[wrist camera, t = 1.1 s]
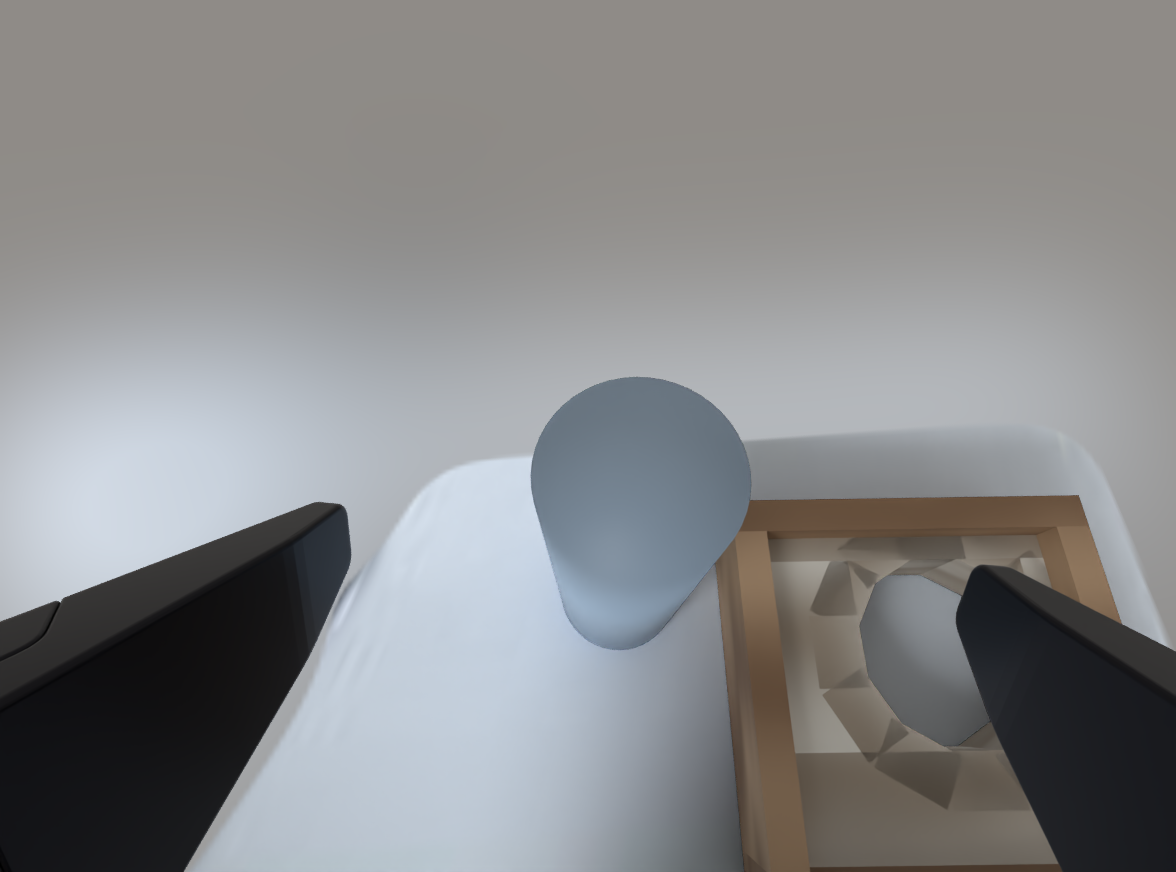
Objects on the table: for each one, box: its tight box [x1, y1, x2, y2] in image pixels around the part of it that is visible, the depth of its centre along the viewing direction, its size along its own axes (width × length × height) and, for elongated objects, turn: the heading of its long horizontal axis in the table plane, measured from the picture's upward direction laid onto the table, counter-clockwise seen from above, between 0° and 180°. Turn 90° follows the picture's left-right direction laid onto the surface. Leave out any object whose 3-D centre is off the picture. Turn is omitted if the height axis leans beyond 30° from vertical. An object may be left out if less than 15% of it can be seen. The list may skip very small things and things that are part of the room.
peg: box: [531, 377, 751, 650], centre depth 17 cm, size 4×4×12 cm
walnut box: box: [715, 495, 1122, 872], centre depth 20 cm, size 11×11×4 cm
